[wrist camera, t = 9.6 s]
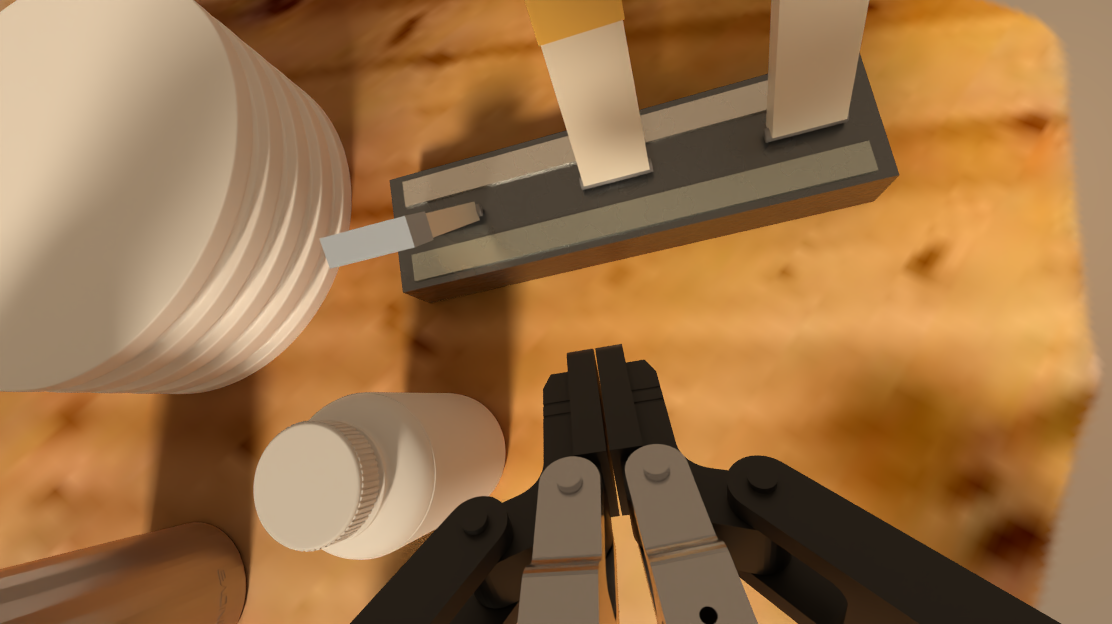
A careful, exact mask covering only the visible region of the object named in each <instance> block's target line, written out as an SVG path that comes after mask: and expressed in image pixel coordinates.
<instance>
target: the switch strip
mask: <svg viewBox="0 0 1112 624" xmlns="http://www.w3.org/2000/svg"><path fill="white" fill-rule="evenodd" d="M767 91H768V74H766V75H762V76H759V77H755V78H751V79H748V80H744V81H741V82H737V83H734V84H730V85H727V86H723V87H719V88H716V89H712V90H709V91H705V92H702V93H698V94H695V95H691V96H687V97H684V98H680V99H677V100H673V101H670V102H666V103H663V104H659V105H655V106H652V107H648V108H645V109H641V110H639V113H640V118H641V124H642V129H643V135H644V140H645V146H646V151H647V157H648V159H651V162H652V166H653V172H651V173H647V174H643V175H639V176H636V177H632V178H628V179H624V180H620V181H616V182H612V183H608V184H605V185H601V186H597V187H593V188H589V189H585V190H582V189H581V185H580V181H579V177H581V175H580V172H579V169H578V165H577V162H576V159H575V156H574V152H573V149H572V146H571V143H570V139H569V136H568V133H567V131H563V132H559V133H556V134H552V135H549V136H545V137H542V138H538V139H535V140H531V141H527V142H524V143H520V144H517V145H513V146H510V147H506V148H503V149H499V150H495V151H492V152H488V153H485V154H481V155H478V156H474V157H471V158H467V159H463V160H460V161H456V162H453V163H449V164H446V165H442V166H438V167H435V168H431V169H428V170H424V171H421V172H417V173H414V174H410V175H406V176H403V177H399V178H396V179H392V180H390V187H391V195H392V204H393V212H394V219H395V218H399V217H402V216H406V215H411V214H415V213H419V212H424V211H425V213H429V212H433V211H437V210H441V209H445V208H449V207H454V206H458V205H462V204H466V203H470V202H475V205H476V204H480V205H481V206H482V209H483V216H480V217H479V219H480V220H479V221H476V222H473V223H471V224H468V225H465V226H463V227H460V228H457V229H455V230H452V231H449V232H447V233H444V234H442V235H439V236H436V237H434V238H433V239H434V240H432V241H430V242H427V243H425V244H422V245H419V246H417V247H414V248H410V249H406V250H402V251H398V254H399V263H400V271H401V279H402V288H403V293H405V294H408V295H411V296H413V297H416V298H418V299H421V300H423V301H426V302H428V303H434V302H438V301H443V300H447V299H451V298H456V297H460V296H464V295H469V294H473V293H477V292H482V291H486V290H490V289H495V288H499V287H503V286H508V285H512V284H516V283H521V282H525V281H529V280H534V279H538V278H542V277H547V276H551V275H555V274H560V273H564V272H568V271H573V270H577V269H582V268H586V267H590V266H595V265H599V264H603V263H608V262H612V261H616V260H621V259H625V258H629V257H634V256H638V255H642V254H647V253H651V252H655V251H660V250H664V249H668V248H673V247H677V246H681V245H686V244H690V243H694V242H699V241H703V240H707V239H712V238H716V237H720V236H725V235H729V234H734V233H738V232H742V231H747V230H751V229H755V228H760V227H764V226H768V225H773V224H777V223H781V222H786V221H790V220H794V219H799V218H803V217H807V216H812V215H816V214H820V213H825V212H829V211H833V210H838V209H842V208H846V207H851V206H855V205H859V204H864V203H868V202H873V201H875V200H876V199H877V198H878V197H879V195H880V194H881V193H882V192H883V191H884V190H885V189H886V188H887V187H888V186H889V185H890V184H891V183H892V182H893V181H894V180H895V179H896V178H897V177H898V176H899V172H898V169H897V166H896V163H895V160H894V157H893V154H892V151H891V148H890V145H889V142H888V139H887V135H886V132H885V129H884V126H883V123H882V120H881V117H880V114H879V111H878V108H877V105H876V102H875V99H874V96H873V92H872V89H871V86H870V83H869V80H868V77H867V74H866V71H865V68H864V65H863V62H862V59H861V56H860V53H859V58H858V63H857V69H856V74H855V80H854V85H853V90H852V96H851V101H850V107H849V121H848V122H845V123H841V124H837V125H833V126H829V127H826V128H822V129H818V130H814V131H810V132H806V133H802V134H798V135H795V136H791V137H787V138H783V139H779V140H775V141H771V142H768V143H766V142H765V140H764V135H763V130H764V129H765V128H767V127H766V114H767Z"/></svg>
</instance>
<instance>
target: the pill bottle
mask: <svg viewBox="0 0 1112 624" xmlns="http://www.w3.org/2000/svg"><path fill="white" fill-rule="evenodd" d="M505 456H506V449H505V441H504V436H503V433H502V430H501V428H500V426H499V424H498V422H497V420H496V418H495V417H494V416H493V414H492V413H491V412H490V411H489V410H488V409H487V408H486V407H485V406H484V405H482V404H481V403H480V402H478V401H476V400H474V399H472V398H470V397H467V396H464V395H460V394H455V393H390V392H365V393H356V394H351V395H347V396H344V397H342V398H339V399H337V400H335V401H333V402H332V403H330V404H328V405H326V406H325V407H323V408H322V409H321V410H319V411H318V412H317V413H316V414H315V415H314V416H313V417H312V418H311V419H310V420H309V421H303V422H299V423H296V424H293V425H291V427H287V428H286V429H285V430H283V431H281V433H279V434H278V435H277V436H276V437H275V438H274V439H273V440H272V441H271V442H270V443H269V445H268V446H267V447H266V449H265V451H264V452H263V454H262V456H261V458H260V460H259V463H258V466H257V469H256V473H255V478H254V502H255V507H256V511H257V514H258V516H259V519H260V521H261V523H262V525H263V526H264V528H265V529H266V531H267V532H268V533H269V534H270V535H271V536H272V537H273V538H274V539H275V540H276V541H277V542H279V543H280V544H282V545H284V546H285V547H288V548H290V549H294V550H297V551H298V550H300V551H305V552H308V551H315V550H320V549H322V550H324V551H326V552H328V553H330V554H332V555H335V556H338V557H342V558H347V559H359V560H364V559H373V558H377V557H381V556H384V555H387V554H389V553H391V552H393V551H395V550H397V549H399V548H401V547H403V546H405V545H407V544H409V543H411V542H412V541H414V540H416V539H418V538H420V537H422V536H424V535H425V534H427V533H429V532H431V531H433V530H435V529H437V528H438V527H439V526H440V525H441V524H442V522H443V521H444V520H445V519H446V518H447V517H448V516H449V515H450V514H451V513H452V512H453V510H454V509H455V508H457V507H458V506H459V505H460V504H461V503H463V502H465V501H466V500H469V499H471V498H474V497H478V496H489V495H490V494H491V493H492V492H493V490H494V489H495V487H496V486H497V484H498V482H499V480H500V478H501V475H502V473H503V469H504V465H505Z"/></svg>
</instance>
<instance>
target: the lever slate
mask: <svg viewBox="0 0 1112 624" xmlns="http://www.w3.org/2000/svg"><path fill="white" fill-rule="evenodd" d="M480 216H483V209H482V206H481V205H480V204H476V205H475V202H470V203H466V204H462V205H458V206H454V207H449V208H445V209H441V210H437V211H433V212H429V213H425V211H424V212H419V213H415V214H411V215H406V216H402V217H399V218H395V219H391V220H387V221H384V222H380V223H376V224H372V225H368V226H365V227H361V228H357V229H353V230H350V231H346V232H342V233H338V234H335V235H331V236H327V237H323V238H320V242H321V245H322V248H323V250H324V253H325V256H326V259H327V262H328V264H329V267H330V269H331V268H335V267H339V266H343V265H347V264H351V263H355V262H359V261H363V260H367V259H371V258H375V257H379V256H382V255H386V254H390V253H394V252H398V251H402V250H406V249H410V248H414V247H417V246H419V245H422V244H425V243H427V242H430V241H432V240H434V239H433V238H434V237H436V236H439V235H442V234H444V233H447V232H449V231H452V230H455V229H457V228H460V227H463V226H465V225H468V224H471V223H473V222H476V221H479V220H480V219H479V217H480Z"/></svg>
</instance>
